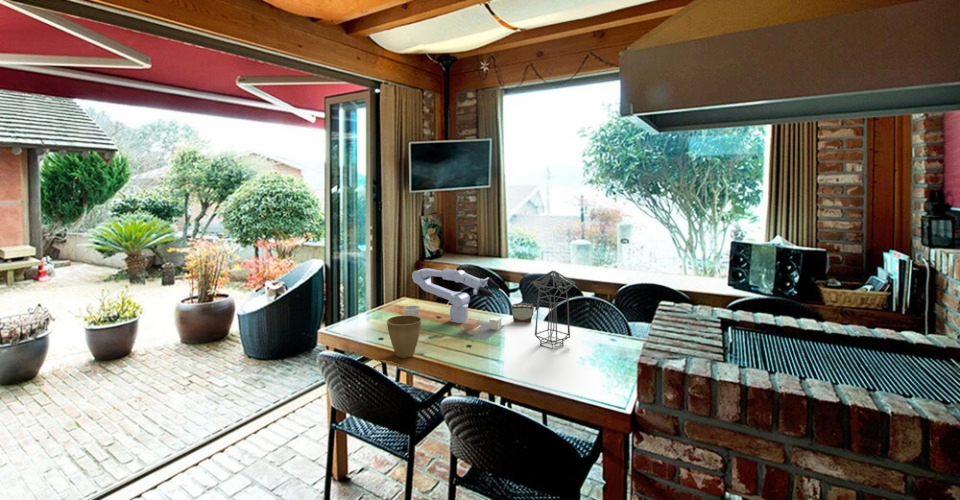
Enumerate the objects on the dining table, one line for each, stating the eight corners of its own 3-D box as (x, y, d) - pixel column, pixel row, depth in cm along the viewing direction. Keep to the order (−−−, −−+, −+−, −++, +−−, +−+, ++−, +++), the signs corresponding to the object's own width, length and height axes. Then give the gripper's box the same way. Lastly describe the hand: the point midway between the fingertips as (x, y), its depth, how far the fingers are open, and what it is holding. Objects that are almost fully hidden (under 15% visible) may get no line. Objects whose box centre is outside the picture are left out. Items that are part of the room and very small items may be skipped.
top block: (489, 328, 226) (489, 319, 226) (493, 326, 230) (493, 317, 230) (497, 330, 224) (497, 320, 224) (501, 327, 228) (501, 318, 228)
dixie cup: (421, 323, 239) (421, 305, 238) (418, 328, 231) (417, 309, 229) (406, 323, 240) (406, 305, 238) (402, 328, 232) (402, 309, 230)
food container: (533, 320, 242) (533, 303, 241) (533, 324, 236) (534, 305, 235) (511, 320, 244) (511, 302, 242) (510, 323, 238) (510, 305, 236)
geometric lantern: (549, 337, 215) (550, 266, 210) (576, 345, 203) (578, 270, 199) (527, 345, 205) (528, 270, 200) (554, 354, 193) (555, 275, 188)
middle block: (462, 327, 221) (462, 322, 220) (468, 324, 226) (468, 319, 226) (473, 329, 218) (473, 324, 218) (478, 325, 223) (478, 321, 223)
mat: (452, 336, 218) (452, 334, 218) (474, 322, 239) (474, 321, 239) (485, 341, 210) (485, 339, 210) (505, 327, 231) (505, 325, 231)
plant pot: (421, 360, 187) (420, 324, 185) (385, 362, 186) (384, 325, 184) (423, 348, 202) (422, 314, 200) (390, 349, 201) (389, 315, 199)
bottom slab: (460, 332, 220) (460, 328, 220) (467, 328, 228) (467, 323, 227) (474, 335, 217) (474, 330, 217) (481, 330, 224) (481, 325, 224)
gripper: (466, 282, 226) (489, 292, 221) (481, 269, 237) (503, 278, 231) (465, 293, 230) (488, 303, 224) (480, 280, 241) (501, 289, 235)
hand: (495, 291), depth 228 cm, fingers open, 7 cm apart
